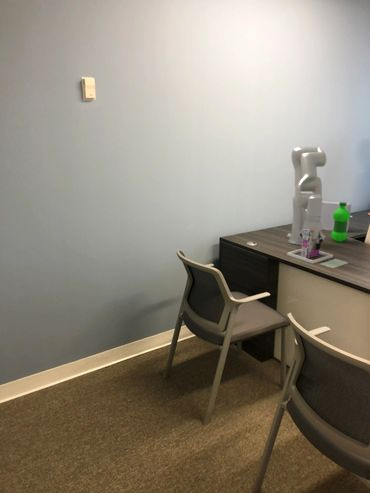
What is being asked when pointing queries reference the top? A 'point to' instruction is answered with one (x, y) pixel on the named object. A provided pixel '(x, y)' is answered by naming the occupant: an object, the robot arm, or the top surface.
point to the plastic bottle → (340, 223)
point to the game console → (331, 214)
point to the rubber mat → (334, 263)
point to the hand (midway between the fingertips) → (310, 247)
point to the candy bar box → (308, 245)
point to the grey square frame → (310, 259)
